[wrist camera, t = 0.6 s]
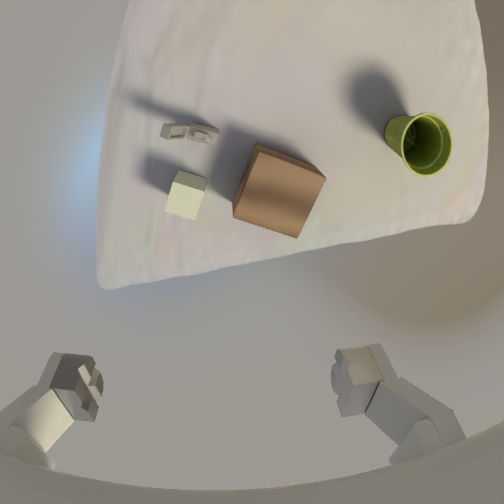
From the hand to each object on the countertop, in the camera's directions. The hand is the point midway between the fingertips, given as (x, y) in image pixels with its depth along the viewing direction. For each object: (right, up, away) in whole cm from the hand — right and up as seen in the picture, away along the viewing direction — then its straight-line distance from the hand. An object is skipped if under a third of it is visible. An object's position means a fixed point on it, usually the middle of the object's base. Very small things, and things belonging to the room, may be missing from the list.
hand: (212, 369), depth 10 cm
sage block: (-8, +14, +38) cm, 42 cm away
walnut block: (+5, +14, +39) cm, 42 cm away
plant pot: (+25, +23, +36) cm, 50 cm away
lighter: (-7, +22, +34) cm, 41 cm away
